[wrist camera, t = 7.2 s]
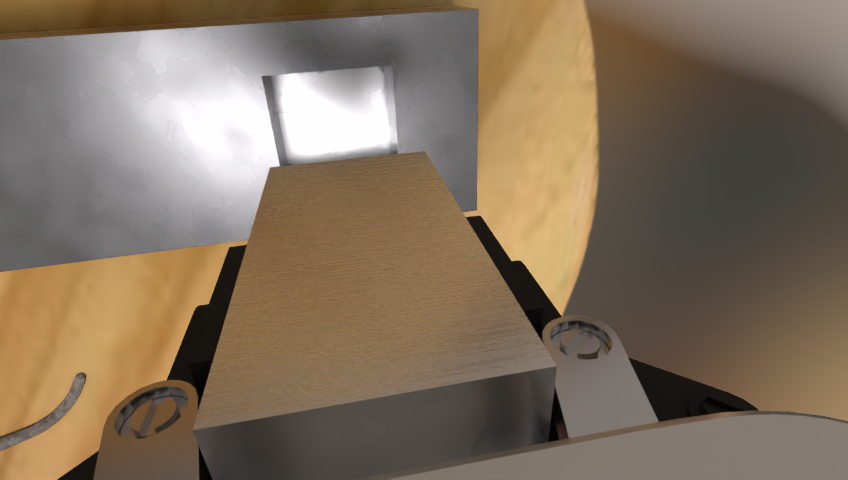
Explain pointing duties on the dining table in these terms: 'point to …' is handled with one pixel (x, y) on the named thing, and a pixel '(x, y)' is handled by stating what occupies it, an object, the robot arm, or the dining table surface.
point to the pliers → (49, 420)
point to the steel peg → (368, 333)
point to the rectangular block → (217, 121)
